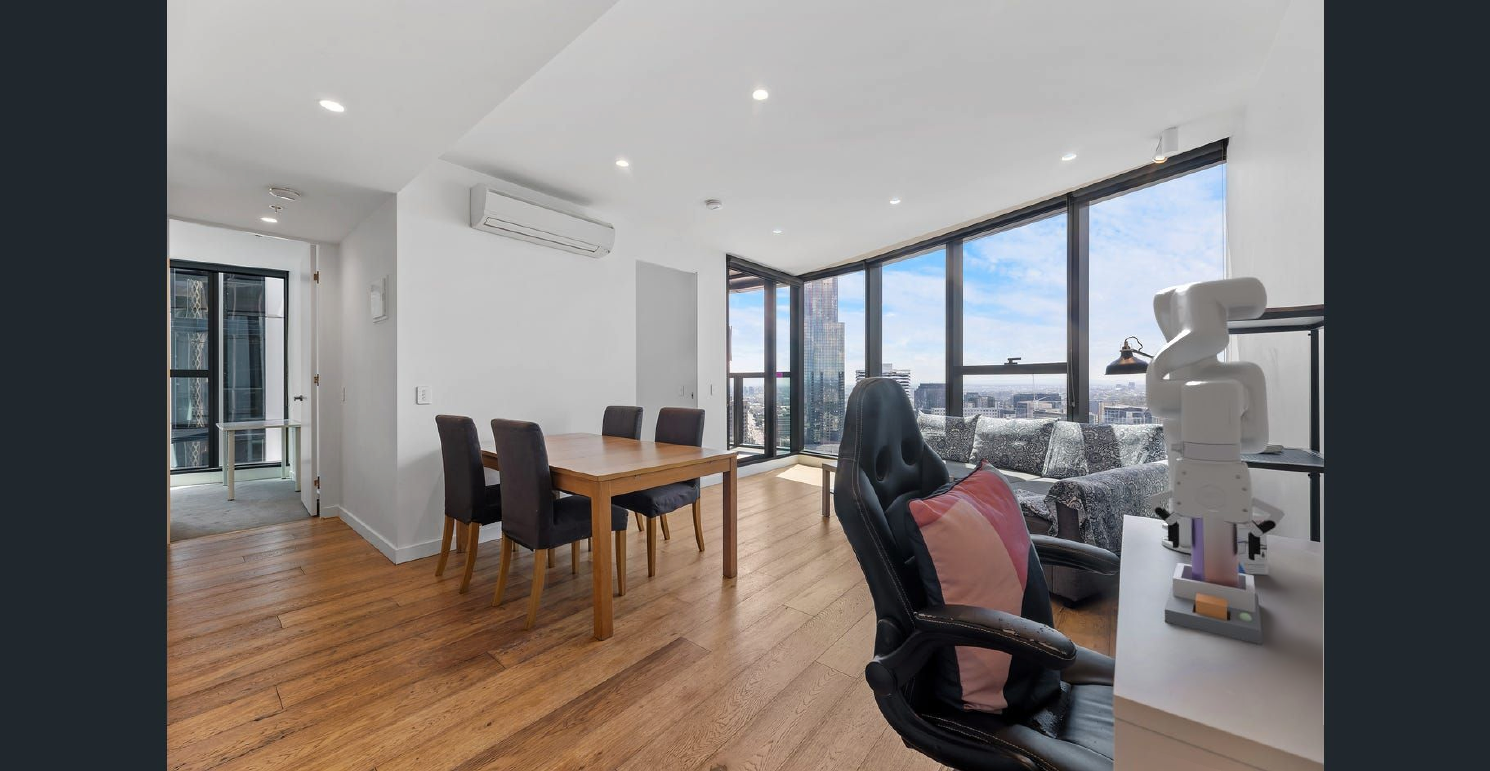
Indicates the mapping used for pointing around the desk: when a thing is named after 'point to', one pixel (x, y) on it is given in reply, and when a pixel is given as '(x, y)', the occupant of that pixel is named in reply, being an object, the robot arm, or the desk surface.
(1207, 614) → the button
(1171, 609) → the panel
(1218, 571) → the beverage can
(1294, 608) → the desk surface
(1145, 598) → the desk surface
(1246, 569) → the ink box
